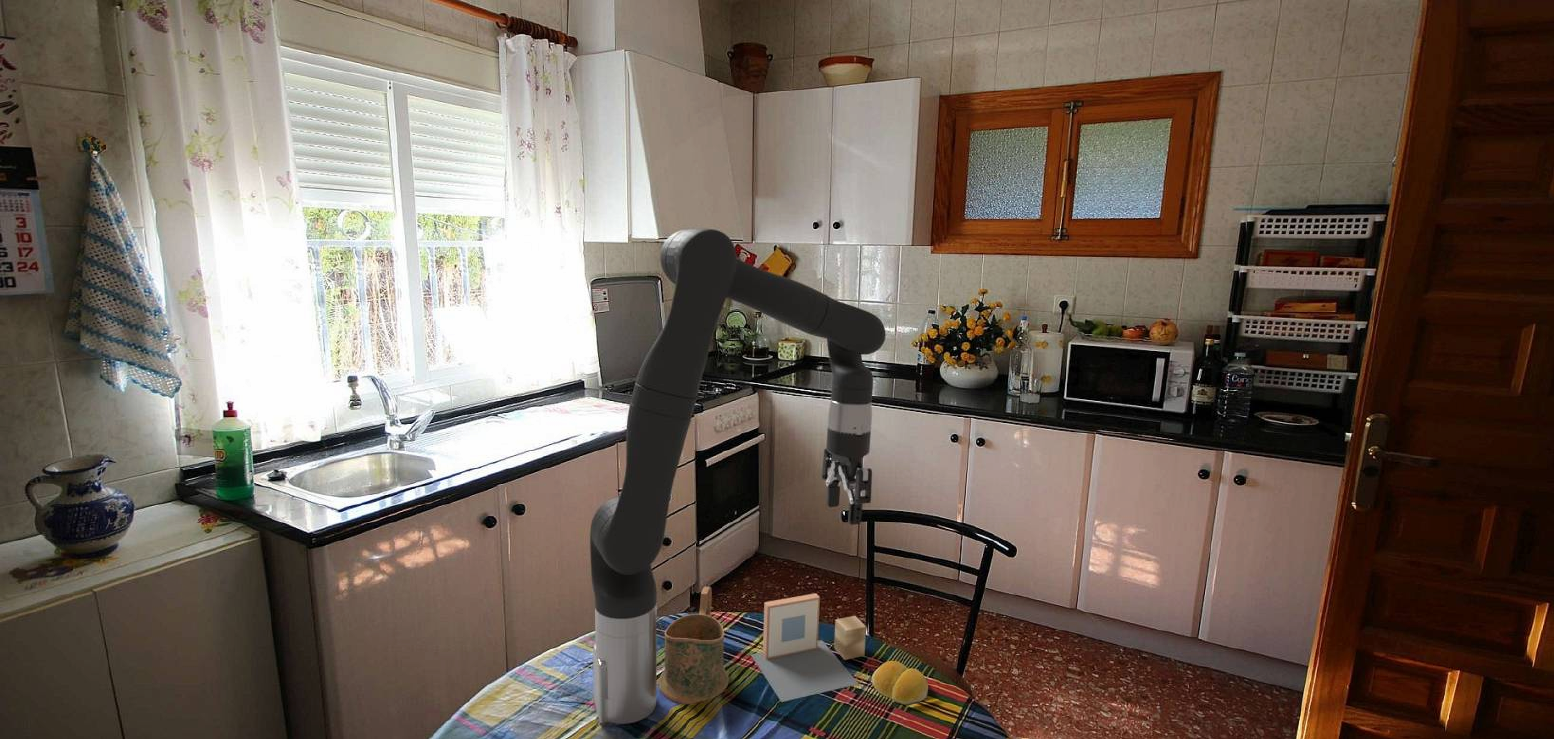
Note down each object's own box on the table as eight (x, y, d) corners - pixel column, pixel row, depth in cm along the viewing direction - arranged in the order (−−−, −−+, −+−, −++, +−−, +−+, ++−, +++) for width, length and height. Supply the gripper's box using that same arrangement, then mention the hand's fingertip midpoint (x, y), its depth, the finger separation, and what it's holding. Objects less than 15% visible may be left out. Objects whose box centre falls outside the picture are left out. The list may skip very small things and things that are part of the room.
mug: (739, 645, 129) (740, 584, 127) (722, 707, 112) (723, 637, 110) (676, 640, 130) (677, 579, 128) (650, 700, 113) (650, 631, 111)
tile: (766, 660, 124) (768, 607, 123) (762, 654, 126) (764, 602, 124) (817, 649, 128) (820, 597, 126) (813, 644, 130) (816, 593, 128)
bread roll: (914, 713, 112) (915, 691, 111) (865, 691, 118) (866, 669, 117) (936, 689, 119) (938, 667, 118) (889, 668, 124) (890, 647, 123)
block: (844, 662, 125) (845, 630, 124) (834, 650, 129) (835, 619, 128) (864, 657, 127) (866, 626, 126) (853, 645, 130) (855, 615, 129)
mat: (781, 704, 113) (781, 701, 113) (750, 656, 126) (750, 654, 126) (858, 685, 118) (858, 683, 118) (821, 642, 131) (821, 640, 131)
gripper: (812, 417, 129) (807, 502, 131) (848, 437, 116) (842, 532, 118) (849, 415, 131) (844, 499, 134) (889, 435, 118) (881, 527, 121)
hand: (843, 514), depth 126 cm, fingers open, 8 cm apart
